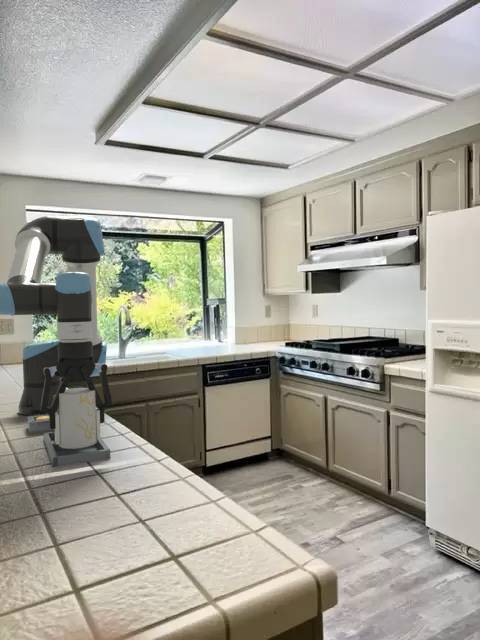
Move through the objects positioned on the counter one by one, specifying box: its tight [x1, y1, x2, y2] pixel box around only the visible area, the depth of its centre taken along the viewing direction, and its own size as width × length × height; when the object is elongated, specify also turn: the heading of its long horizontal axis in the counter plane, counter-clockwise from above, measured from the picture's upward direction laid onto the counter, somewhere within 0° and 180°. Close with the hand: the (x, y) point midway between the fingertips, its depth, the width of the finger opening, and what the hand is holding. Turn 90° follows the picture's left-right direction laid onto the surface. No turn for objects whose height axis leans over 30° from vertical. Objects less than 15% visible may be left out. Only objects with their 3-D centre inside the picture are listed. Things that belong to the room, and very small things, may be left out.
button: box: [36, 416, 49, 421], centre depth 132 cm, size 4×4×3 cm
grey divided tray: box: [43, 431, 111, 468], centre depth 113 cm, size 23×12×3 cm, turn 27°
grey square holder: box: [27, 414, 54, 435], centre depth 132 cm, size 8×8×4 cm
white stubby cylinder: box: [58, 387, 97, 449], centre depth 108 cm, size 8×8×12 cm
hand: (77, 439), depth 108 cm, fingers closed on white stubby cylinder, 8 cm apart
